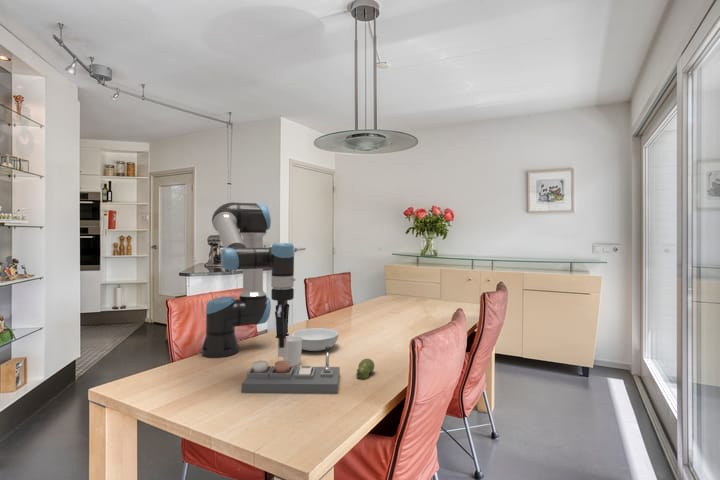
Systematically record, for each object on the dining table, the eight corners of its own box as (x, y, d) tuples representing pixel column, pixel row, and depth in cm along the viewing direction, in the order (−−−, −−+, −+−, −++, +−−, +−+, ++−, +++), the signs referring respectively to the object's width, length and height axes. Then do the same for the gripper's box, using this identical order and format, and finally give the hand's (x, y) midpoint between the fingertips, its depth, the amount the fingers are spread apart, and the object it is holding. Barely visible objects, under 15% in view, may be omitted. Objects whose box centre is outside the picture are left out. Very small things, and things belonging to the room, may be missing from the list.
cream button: (255, 367, 135) (255, 360, 135) (269, 367, 135) (269, 360, 135) (251, 372, 130) (251, 365, 130) (265, 373, 130) (265, 365, 130)
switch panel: (254, 374, 141) (254, 361, 140) (339, 375, 141) (339, 362, 141) (241, 392, 125) (241, 378, 124) (337, 393, 125) (337, 379, 125)
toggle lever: (323, 371, 133) (324, 346, 137) (330, 371, 133) (331, 346, 137) (323, 371, 131) (324, 345, 135) (330, 371, 131) (331, 345, 135)
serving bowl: (341, 342, 182) (341, 328, 182) (334, 357, 161) (334, 340, 161) (298, 340, 184) (298, 326, 184) (285, 354, 163) (285, 338, 163)
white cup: (297, 367, 148) (297, 341, 148) (278, 365, 150) (278, 340, 149) (304, 360, 156) (304, 336, 156) (286, 359, 157) (286, 335, 157)
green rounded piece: (376, 357, 144) (367, 370, 135) (376, 370, 145) (367, 384, 136) (362, 355, 146) (352, 368, 137) (363, 368, 147) (353, 381, 138)
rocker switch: (300, 368, 135) (300, 365, 135) (311, 368, 135) (311, 365, 135) (298, 376, 130) (298, 373, 130) (310, 376, 130) (310, 374, 130)
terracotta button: (276, 367, 135) (276, 360, 135) (290, 368, 135) (290, 360, 135) (273, 373, 130) (273, 365, 130) (288, 373, 130) (288, 365, 130)
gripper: (290, 290, 125) (289, 362, 126) (296, 285, 138) (296, 350, 139) (267, 290, 125) (266, 362, 126) (275, 285, 138) (275, 350, 139)
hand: (282, 356), depth 132 cm, fingers closed
